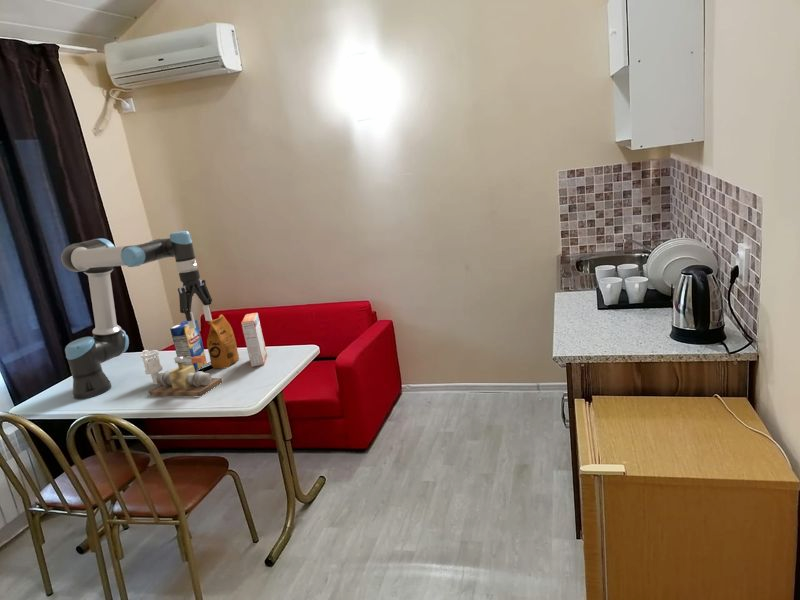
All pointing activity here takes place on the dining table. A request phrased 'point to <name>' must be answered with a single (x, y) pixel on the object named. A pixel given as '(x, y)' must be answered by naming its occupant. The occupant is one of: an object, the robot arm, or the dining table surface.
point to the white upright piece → (152, 364)
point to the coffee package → (221, 343)
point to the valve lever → (190, 359)
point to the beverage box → (188, 343)
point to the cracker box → (254, 339)
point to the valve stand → (184, 382)
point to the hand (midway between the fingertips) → (201, 324)
